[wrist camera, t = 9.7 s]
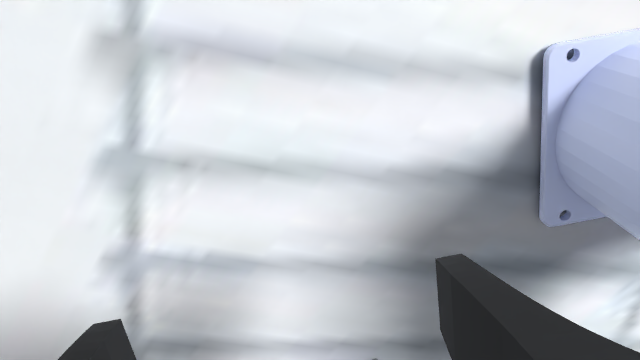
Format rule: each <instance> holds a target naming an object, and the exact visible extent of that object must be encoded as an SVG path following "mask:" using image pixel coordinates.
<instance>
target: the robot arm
mask: <svg viewBox="0 0 640 360" xmlns="http://www.w3.org/2000/svg"><path fill="white" fill-rule="evenodd" d="M571 49H573V50H574V55H573V57H572V58H571V59H570V60H567V57H566V56H567V53H568V52H569V50H571ZM565 210H566V213H565V214H564V215H563V216H561V217H559V216H560V214H561V212H562V211H565ZM539 217H540V220H541V221H542V223H544V224H545V225H546V226H548V227H556V226H561V225H566V224H571V223H577V222H582V221H587V220H592V219H598V218H603V217H608V218H610V219H611V220H613V221H614V222H615V223H617V224H618V225H619V226H621V227H622V228H623V229H625V230H626V231H628V232H629V233H630V234H632V235H633V236H634V237H636V238H637V239H638V240H640V28H639V29H633V30H628V31H622V32H616V33H611V34H605V35H599V36H594V37H588V38H582V39H577V40H571V41H565V42H559V43H555V44H552V45H551V46H550V47H548V48H547V50H546V51H545V53H544V57H543V90H542V130H541V169H540V209H539ZM436 273H437V287H438V301H439V316H440V330H441V332H442V335H443V338H444V340H445V343H446V346H447V348H448V351H449V353H450V356H451V358H452V360H640V353H639V352H637V351H634V350H632V349H629V348H627V347H625V346H622V345H620V344H618V343H616V342H613V341H611V340H609V339H607V338H605V337H602V336H600V335H598V334H596V333H594V332H591V331H589V330H587V329H585V328H583V327H581V326H579V325H577V324H575V323H573V322H572V321H570V320H568V319H566V318H564V317H562V316H561V315H559V314H557V313H555V312H553V311H551V310H549V309H548V308H546V307H544V306H542V305H541V304H539V303H537V302H536V301H534V300H532V299H531V298H529V297H527V296H526V295H524V294H522V293H521V292H519V291H518V290H516V289H514V288H513V287H511V286H510V285H508V284H507V283H505V282H503V281H502V280H500V279H499V278H497V277H496V276H494V275H493V274H491V273H490V272H488V271H487V270H485V269H484V268H482V267H481V266H479V265H478V264H476V263H475V262H473V261H472V260H470V259H469V258H467V257H466V256H464V255H463V254H458V255H453V256H448V257H442V258H437V259H436ZM58 360H136V358H135V355H134V352H133V350H132V347H131V345H130V342H129V339H128V337H127V334H126V332H125V329H124V326H123V324H122V321H121V319H118V320H113V321H107V322H102V323H97V324H93V325H92V326H91V327H90V328H89V329H88V330H86V331H85V332H84V333H83V334H82V335H81V336H80V337H79V338H78V339H77V340H76V341H75V342H74V343H73V344H72V345H71V346H70V347H69V348H68V349H67V350H66V351H65V353H64V354H63V355H62V356H61V357H60V358H59V359H58Z"/></svg>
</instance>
